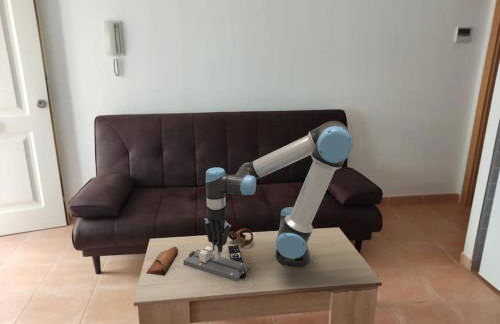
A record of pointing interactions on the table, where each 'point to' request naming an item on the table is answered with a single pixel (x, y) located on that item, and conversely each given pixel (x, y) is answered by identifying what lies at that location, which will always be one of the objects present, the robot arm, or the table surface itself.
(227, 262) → the grey slotted slider track
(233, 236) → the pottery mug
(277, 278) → the table surface
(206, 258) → the fader
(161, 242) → the table surface
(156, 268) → the sunglasses case
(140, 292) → the table surface
